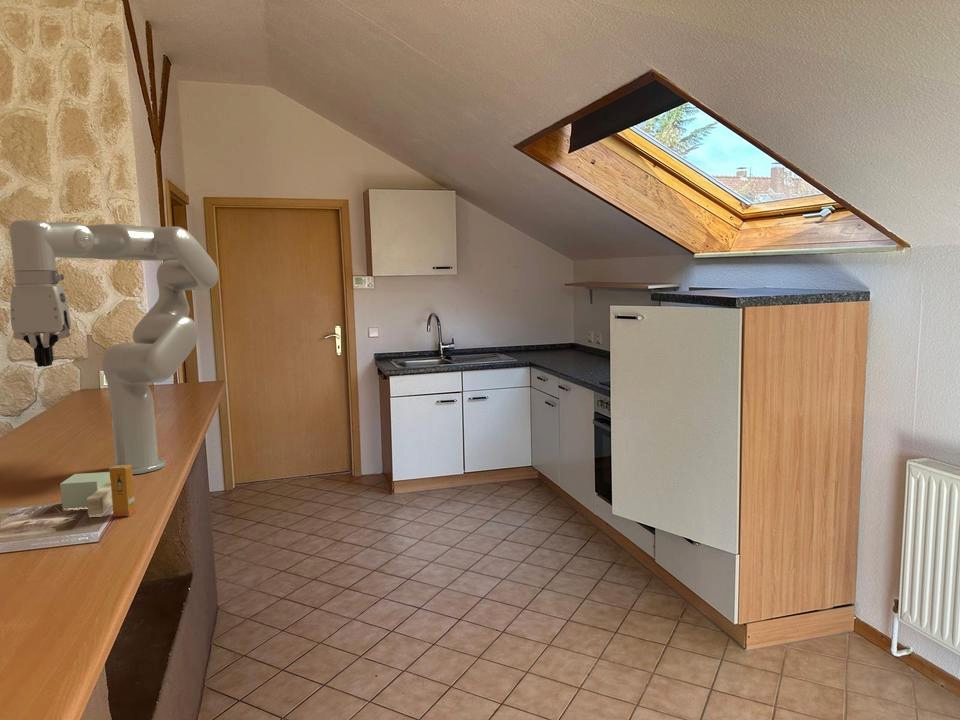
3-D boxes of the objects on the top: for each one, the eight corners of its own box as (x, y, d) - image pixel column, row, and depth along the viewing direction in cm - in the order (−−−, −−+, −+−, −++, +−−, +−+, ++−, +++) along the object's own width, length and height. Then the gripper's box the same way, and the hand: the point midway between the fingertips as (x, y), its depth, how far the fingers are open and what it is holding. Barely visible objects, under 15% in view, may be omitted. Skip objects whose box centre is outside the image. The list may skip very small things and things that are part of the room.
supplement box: (137, 511, 138) (133, 463, 137) (129, 516, 135) (125, 468, 134) (120, 511, 138) (116, 463, 137) (112, 517, 135) (108, 468, 133)
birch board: (121, 490, 152) (120, 472, 152) (133, 489, 153) (132, 472, 152) (88, 518, 134) (86, 498, 134) (101, 517, 135) (100, 497, 134)
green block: (77, 500, 146) (74, 474, 145) (111, 498, 147) (109, 471, 146) (62, 511, 139) (60, 483, 138) (99, 509, 140) (96, 481, 139)
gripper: (82, 279, 147) (89, 362, 149) (7, 280, 145) (16, 364, 147) (66, 279, 140) (74, 366, 142) (-13, 280, 138) (-3, 369, 140)
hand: (44, 365), depth 145 cm, fingers closed
